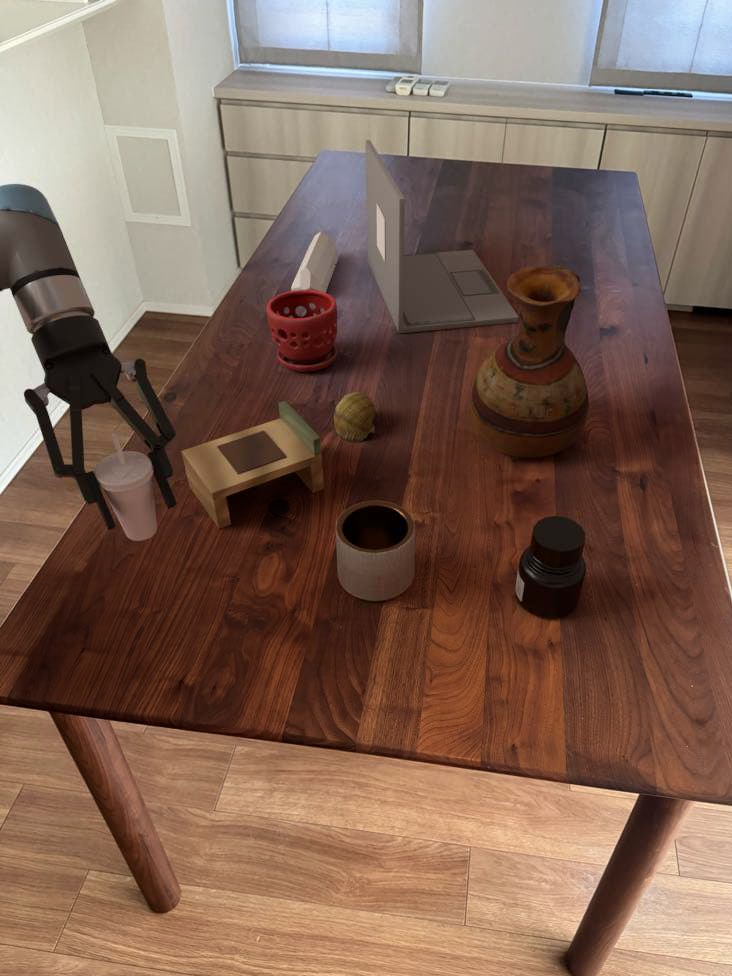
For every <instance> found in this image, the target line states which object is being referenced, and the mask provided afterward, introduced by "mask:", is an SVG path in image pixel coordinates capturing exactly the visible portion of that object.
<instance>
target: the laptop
mask: <svg viewBox="0 0 732 976" xmlns="http://www.w3.org/2000/svg"><path fill="white" fill-rule="evenodd" d="M365 179H366V180H365V182H366V183H365V185H366V186H365V187H366V189H365V190H366V191H365V193H366V237H367V239H366V241H367V245H366V246H367V263H368V266H369V268H370V270H371V273H372V275H373V277H374V279H375V282H376V284H377V286H378V289H379V292H380V293H381V296H382V298H383V300H384V303H385V305H386V307H387V310H388V312H389V314H390V317H391V319H392V321H393V324H394V326H395V328H396V330H397V333H398V334H410V333H419V332H430V331H440V330H441V331H442V330H452V329H461V328H473V327H474V328H475V327H484V326H493V325H504V324H516V323H519V318H520V316H519V315H518V313H517V312H516V311H515V309H514V308H513V306H512V305H511V304H510V302H509V300H508V299H507V298H506V296H505V294H504V293H503V291H502V289H500V287H499V286H498V284H497V283H496V281H495V280H494V278H493V277H492V275H491V274H490V272H489V271H488V269H487V268H486V266H485V265H484V264H483V262H482V260H481V259H480V257H479V256H478V255H477V253H476V251H475V250H474V249H465V250H452V251H440V252H428V253H425V252H424V253H414V254H405V219H406V217H405V216H406V215H405V212H406V209H405V208H406V199H405V197H404V195H403V194H402V192H401V190H400V188H399V187H398V184H397V183H396V182H395V179H394V178H393V176H392V174H391V172H390V171H389V170H388V168H387V166H386V165H385V162H384V161H383V159H382V158H381V156H380V154H379V152H378V151H377V149H376V148H375V146H374V144H373V142H372V140H370V139H367V140H365Z"/></svg>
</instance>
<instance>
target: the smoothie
mask: <svg viewBox="0 0 732 976" xmlns="http://www.w3.org/2000/svg"><path fill="white" fill-rule="evenodd" d="M111 436H112V441H113V443H114V447H115V450H116V452H115V453H112V454H109V455H107V456H106V457H104V458H102V459H100V461H99V462H98V463H97V464H96V466H95V467H94V470H93V472H94V475H95V477H96V479H97V482H98V484H99V487H100V489H102V491H103V492H104V495H105V496H106V498H107V500H108V502H109V504H110V506H111V508H112V510H113V512H114V514H115V516H116V518H117V520H118V522H119V524H120V526H121V528H122V530H123V532H124V534H125V536H126V538H128V539H129V540H131V541H135V542H141V541H145V540H149V539H151V538H152V537H153V536H154V535H155V534H156V533H157V531H158V524H157V523H158V522H157V514H156V504H155V495H154V485H153V484H154V483H153V476H154V474H153V472H154V469H153V465H152V462H151V460H150V458H149V457H148V456H147V455H148V454H145V453H142V452H140V451H136V450H135V451H134V450H133V451H132V450H124V451H123V449H122V446H121V443H120V438H119V435H118V432H117V431H112V432H111Z"/></svg>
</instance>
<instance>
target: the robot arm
mask: <svg viewBox="0 0 732 976" xmlns="http://www.w3.org/2000/svg"><path fill="white" fill-rule="evenodd" d="M72 256H73V255H72V254H71V251H70V249H69V247H68V244H67V241H66V237H65V236H64V233H63V230H62V229H61V226H60V224H59V221H58V220H57V218H56V216H55V213H54V212H53V209H52V207H51V205H50V203H49V201H48V199H47V197H46V196H45V195H44V194H43V192H41V191H40V190H39V189H37V188H35V187H34V186H31V185H28V184H23V183H8V184H7V183H6V184H2V185H0V292H3V291H5V290H8V289H9V290H10V292H11V296H12V297H13V300H14V302H15V304H16V307H17V309H18V312H19V314H20V317H21V319H22V322H23V324H24V327H25V329H26V332H28V333H29V335H32V336H31V339H30V340H31V343H32V346H33V348H34V350H35V353H36V355H37V358H38V360H39V363H40V365H41V367H42V369H43V372H44V379H43V383H41V384H40V385H37V386H36V387H35V388H26V389H25V390H24V391H23V397H24V401H25V403H26V405H27V406H28V407H29V409H30V410H31V411H32V413H34V415H35V417H36V420H37V423H38V427H39V430H40V432H41V436H42V439H43V442H44V445H45V448H46V452H47V455H48V458H49V461H50V464H51V467H52V471H53V474H54V476H55V477H56V478H58V479H62V478H72V479H73V480H74V481H75V482H76V484H77V487H78V489H79V491H80V494H81V496H82V499H83V500H84V502H85V503H86V504H87V505H88V506H90V505H92V504H94V503H96V505H97V508H98V511H99V512H100V515H101V517H102V519H103V521H104V525H105V526H106V529H107V531H111V530H114V529H116V526H117V525H116V523H115V520H114V518H113V516H112V514H111V511H110V508H109V506H108V503H107V501H106V499H105V497H104V494H103V490H102V488H101V487H100V486H99V484H98V482H97V479H96V477H95V475H94V470H91V471H87V472H86V469H85V451H84V449H85V448H84V430H83V410H88V409H89V408H91V407H93V406H94V405H104V404H107V403H108V405H110V406H111V408H112V409H113V410H115V411H116V412H117V413H118V415H119V416H120V417H121V418H122V419H123V420H124V421H125V423H126V424H127V425H128V426H129V427H130V429H132V431H133V432H134V433H135V434H136V435H137V437H138V438H139V439H140V440H141V442H143V443H144V445H145V446H146V447H147V448H148V450H149V451H150V452H148V453H147V454H146V455H147V456H148V457H149V458H150V460H151V462H152V465H153V469H154V472H153V476H154V479H155V481H156V483H157V487H158V489H159V491H160V493H161V496H162V497H163V501H164V503H165V505H166V508H167V509H168V510H169V509H173V508H175V507H176V506H177V504H178V503H177V500H176V499H175V498H176V497H175V495H174V492H173V490H172V488H171V485H170V483H169V481H168V478H171V477H173V476H174V469H173V465H172V463H171V461H170V459H169V457H168V454H167V452H166V447H167V446H168V445H169V444H171V443H173V441H174V439H175V438H176V431H175V429H174V427H173V425H172V423H171V421H170V419H169V417H168V415H167V413H166V411H165V409H164V407H163V406H162V403H161V402H160V400H159V398H158V395H157V394H156V392H155V390H154V388H153V386H152V384H151V382H150V380H149V378H148V372H147V364H146V361H145V360H144V359H142V358H137V359H136V360H134V361H121V360H120V359H118V358H117V357H116V356H115V355H114V354H113V353H112V351H111V348H110V346H109V344H108V341H107V339H106V336H105V333H104V331H103V329H102V326H101V324H100V321H99V320H98V319H97V318H95V317H94V316H95V312H96V311H95V309H94V307H93V304H92V302H91V300H90V297H89V295H88V293H87V291H86V288H85V286H84V284H83V281H82V279H81V276H80V274H79V272H78V268H77V266H76V264H75V262H74V259H73V257H72ZM121 374H125V376H126V377H127V379H128V380H129V382H134V384H135V387H136V388H135V389H136V390H137V392H138V394H139V396H140V398H141V400H142V402H143V404H144V405H145V408H146V410H147V411H148V414H149V415H150V417H151V419H152V422H153V423H154V426H155V427H156V429H157V431H158V433H159V434H160V435H157V433H156V432H155V431H154V430H153V428H152V427H150V425H149V424H148V423H147V422H146V421H145V420H144V418H143V417H142V416H141V415H140V414H139V412H138V411H137V410H136V409H135V408H134V407H133V406H132V404H131V403H130V402H129V401H128V400H127V399H126V397H125V395H124V394H123V392H122V391H121V390H120V389H119V388H118V384H119V381H120V377H121ZM50 393H51V394H52V395H54V396H55V397H57V398H58V399H60V400H61V401H63V402H65V403H66V404H68V405H69V423H70V443H71V462H72V463H70V464H69V463H65V462H64V459H63V455H62V451H61V449H60V446H59V443H58V440H57V436H56V432H55V430H54V427H53V423H52V421H51V417H50V414H49V411H48V408H47V407H48V405H49V403H50V400H49V396H48V395H49V394H50Z"/></svg>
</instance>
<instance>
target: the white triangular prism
mask: <svg viewBox="0 0 732 976" xmlns="http://www.w3.org/2000/svg"><path fill="white" fill-rule="evenodd" d="M338 261H339V254H338V248H337V247H336V245H335V243H334V241H333V240H332V238H331V237H330V235H328V234H326V233H325V232H324V231H322V230H320V231H319V232H318V233H317V234H314V236H313V238H312V241H311V242H310V244H309V246H308V248H307V250H306V253H305V255H304V257H303V259H302V262H301V263H300V265H299V268H298V271H297V273H296V274H295V277H294V280H293V282H292V284H291V289H290V291H296V290H315V291H320V292H324V293H327V291H328V288H329V284H330V283H331V279H332V277H333V274H334V272H335V269H336V266H337V263H338ZM335 264H336V265H335Z"/></svg>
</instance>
